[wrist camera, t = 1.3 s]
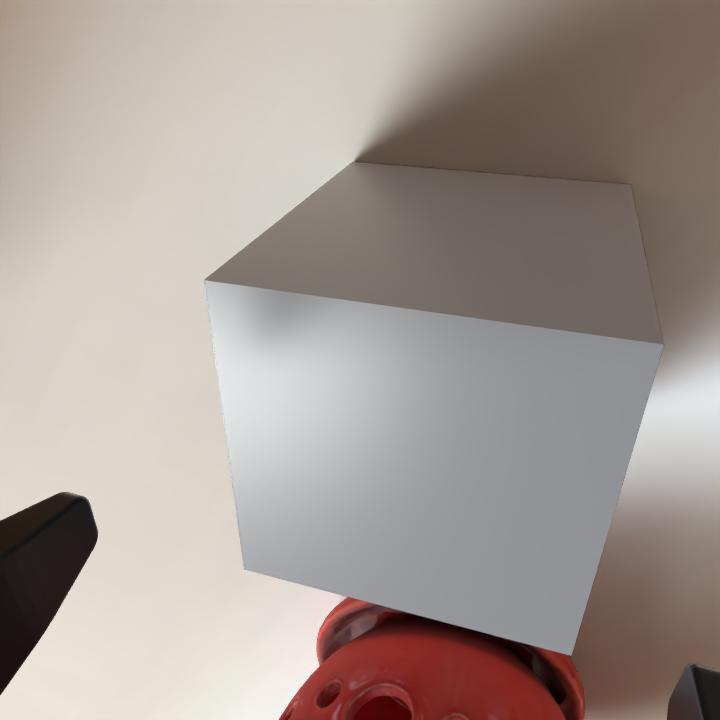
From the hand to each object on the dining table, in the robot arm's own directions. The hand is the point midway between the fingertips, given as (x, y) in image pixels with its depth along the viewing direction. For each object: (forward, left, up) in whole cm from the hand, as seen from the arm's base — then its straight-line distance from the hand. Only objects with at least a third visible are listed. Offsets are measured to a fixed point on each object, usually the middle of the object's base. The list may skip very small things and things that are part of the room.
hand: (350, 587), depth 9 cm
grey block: (0, -1, -12) cm, 12 cm away
